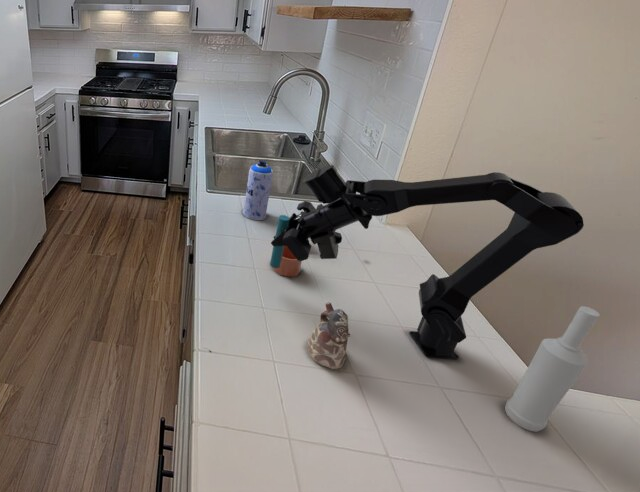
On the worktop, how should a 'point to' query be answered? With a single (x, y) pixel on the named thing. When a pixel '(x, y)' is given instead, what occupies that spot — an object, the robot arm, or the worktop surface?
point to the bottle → (551, 374)
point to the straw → (278, 250)
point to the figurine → (330, 338)
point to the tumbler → (288, 264)
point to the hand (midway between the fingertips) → (273, 241)
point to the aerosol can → (258, 191)
